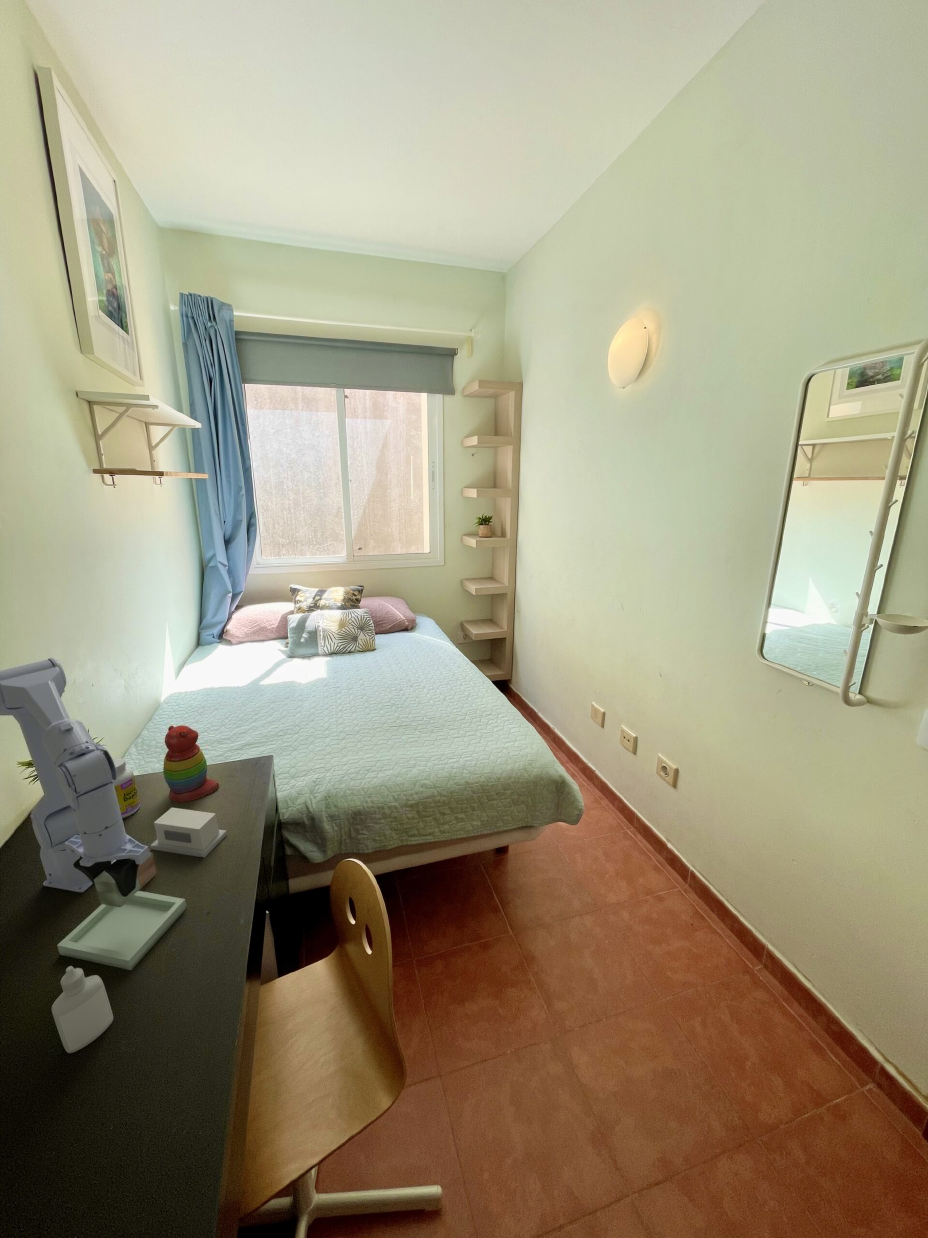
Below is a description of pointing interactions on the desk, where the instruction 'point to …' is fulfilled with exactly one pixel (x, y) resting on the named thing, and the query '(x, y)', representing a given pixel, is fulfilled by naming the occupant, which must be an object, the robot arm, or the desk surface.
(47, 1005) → the desk surface
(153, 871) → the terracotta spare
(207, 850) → the mounted unit
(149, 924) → the sage tray
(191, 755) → the stacking bear
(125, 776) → the supplement bottle
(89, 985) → the eye dropper bottle
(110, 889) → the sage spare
